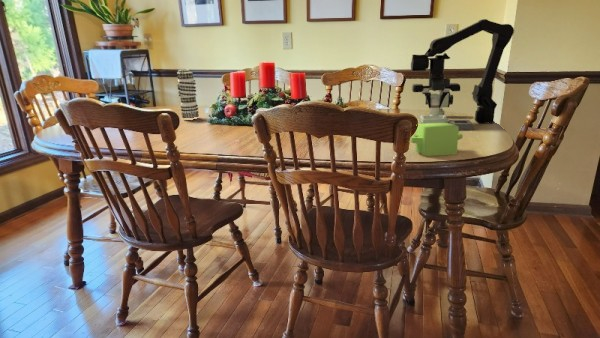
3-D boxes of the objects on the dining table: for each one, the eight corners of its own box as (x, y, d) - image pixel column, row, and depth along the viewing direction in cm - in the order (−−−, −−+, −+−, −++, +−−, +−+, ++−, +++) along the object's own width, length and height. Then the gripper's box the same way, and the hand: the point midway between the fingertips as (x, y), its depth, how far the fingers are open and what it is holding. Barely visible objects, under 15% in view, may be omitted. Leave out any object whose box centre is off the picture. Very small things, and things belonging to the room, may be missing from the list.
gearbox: (455, 147, 141) (457, 120, 139) (470, 153, 132) (472, 124, 129) (404, 150, 139) (405, 122, 137) (416, 157, 130) (417, 127, 127)
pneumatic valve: (424, 115, 193) (426, 89, 189) (451, 115, 190) (452, 89, 186) (425, 117, 188) (426, 91, 184) (452, 118, 185) (454, 91, 181)
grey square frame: (468, 125, 169) (468, 119, 168) (472, 130, 162) (473, 123, 161) (448, 126, 170) (448, 120, 169) (452, 130, 163) (452, 124, 162)
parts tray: (444, 120, 180) (444, 114, 179) (447, 125, 172) (448, 119, 171) (420, 121, 182) (420, 115, 181) (422, 125, 173) (422, 119, 172)
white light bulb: (438, 115, 177) (439, 96, 175) (439, 117, 174) (440, 98, 171) (428, 115, 178) (429, 97, 175) (430, 117, 174) (431, 98, 172)
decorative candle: (203, 118, 211) (197, 68, 203) (187, 121, 205) (181, 70, 197) (193, 116, 217) (187, 68, 210) (178, 119, 211) (171, 69, 203)
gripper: (415, 73, 164) (413, 111, 169) (464, 71, 161) (461, 111, 166) (412, 70, 174) (411, 107, 179) (458, 69, 171) (456, 106, 176)
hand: (434, 108), depth 175 cm, fingers closed on white light bulb, 4 cm apart
